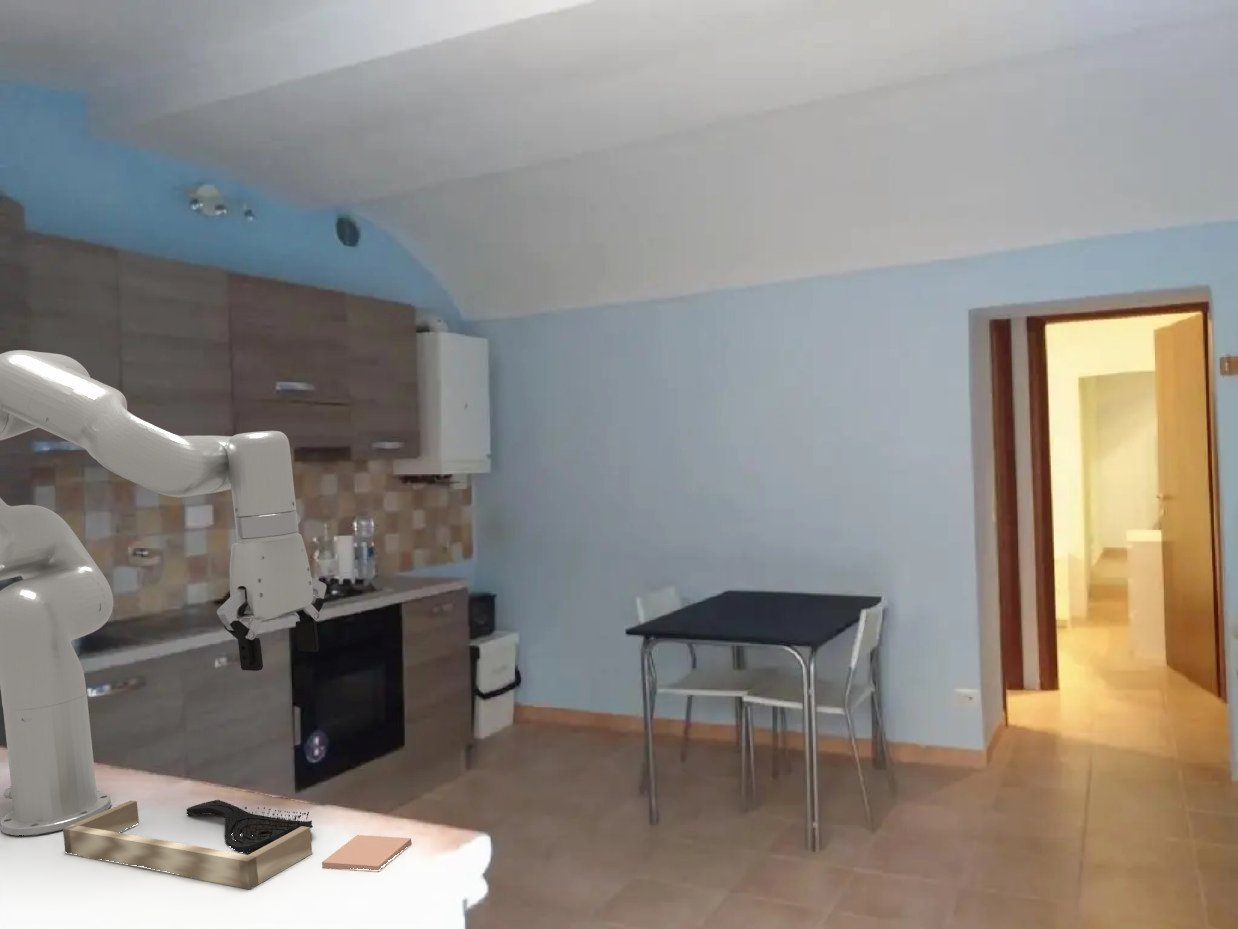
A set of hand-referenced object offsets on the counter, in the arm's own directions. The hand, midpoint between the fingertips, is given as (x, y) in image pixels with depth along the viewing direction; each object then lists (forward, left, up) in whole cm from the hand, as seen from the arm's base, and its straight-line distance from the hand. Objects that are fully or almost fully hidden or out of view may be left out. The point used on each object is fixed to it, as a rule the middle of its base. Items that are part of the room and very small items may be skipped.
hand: (281, 660), depth 127 cm
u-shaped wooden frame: (-1, -16, -19) cm, 25 cm away
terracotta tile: (+21, -10, -19) cm, 30 cm away
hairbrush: (-1, -8, -19) cm, 21 cm away
